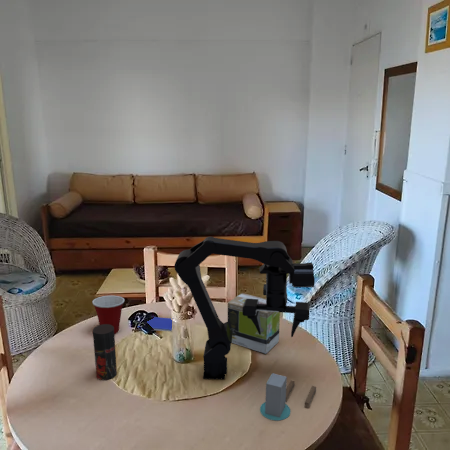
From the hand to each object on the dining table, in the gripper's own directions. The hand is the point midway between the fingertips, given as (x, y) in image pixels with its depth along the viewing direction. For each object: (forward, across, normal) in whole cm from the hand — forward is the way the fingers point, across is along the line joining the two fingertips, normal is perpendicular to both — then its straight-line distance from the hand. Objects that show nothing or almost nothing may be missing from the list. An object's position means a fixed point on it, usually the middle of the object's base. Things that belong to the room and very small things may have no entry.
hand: (276, 335), depth 134 cm
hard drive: (+14, +45, -22) cm, 52 cm away
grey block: (+12, -1, +17) cm, 21 cm away
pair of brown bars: (+13, -7, +10) cm, 18 cm away
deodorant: (+12, +49, +11) cm, 52 cm away
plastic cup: (+12, +59, -14) cm, 62 cm away
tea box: (+14, +9, -17) cm, 24 cm away
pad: (+12, -1, +17) cm, 21 cm away
